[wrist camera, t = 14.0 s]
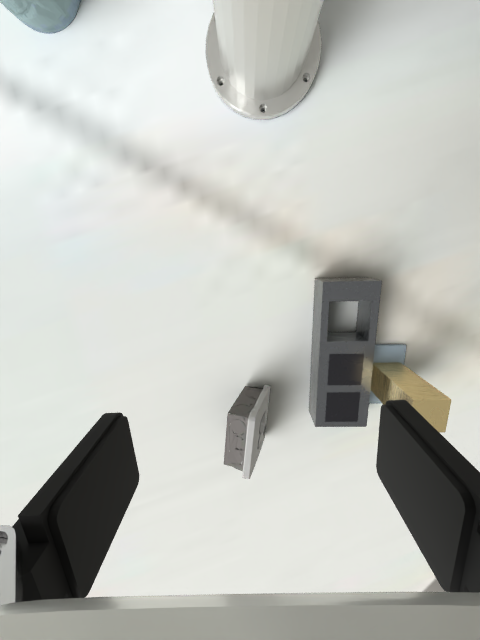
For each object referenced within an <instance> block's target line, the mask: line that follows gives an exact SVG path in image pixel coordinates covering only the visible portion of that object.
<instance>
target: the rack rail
mask: <svg viewBox="0 0 480 640" xmlns="http://www.w3.org/2000/svg"><path fill="white" fill-rule="evenodd" d="M381 284H382V281H381V280H377V279H372V278H317V279H315V287H314V309H313V331H312V352H311V374H310V396H309V412H310V415H311V417H312V420H313V422H314V425H315V427H366V426H367V416H368V407H369V398H370V388H371V379H372V369H373V360H374V350H375V341H376V331H377V322H378V312H379V303H380V294H381ZM329 301H359V303H358V314H357V326H356V332H327V331H328V315H329Z"/></svg>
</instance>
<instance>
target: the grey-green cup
mask: <svg viewBox="0 0 480 640" xmlns="http://www.w3.org/2000/svg"><path fill="white" fill-rule="evenodd" d="M80 2H81V0H0V3H2V4H3V5H4V6H5V7H6V8H7V9H8V10H9V11H10V12H11V13H13V14H14V15H15V16H16V17H17V18H18V19H19V20H20V21H22V22H23V23H24V24H25V25H27V26H28V27H30V28H32V29H33V30H36V31H38V32H42V33H56V32H59V31H61V30H63V29H65V28H66V27H67V26H68V25H69V24H70V23H71V22H72V21H73V20H74V18H75V16H76V14H77V11H78V8H79V3H80Z"/></svg>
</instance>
